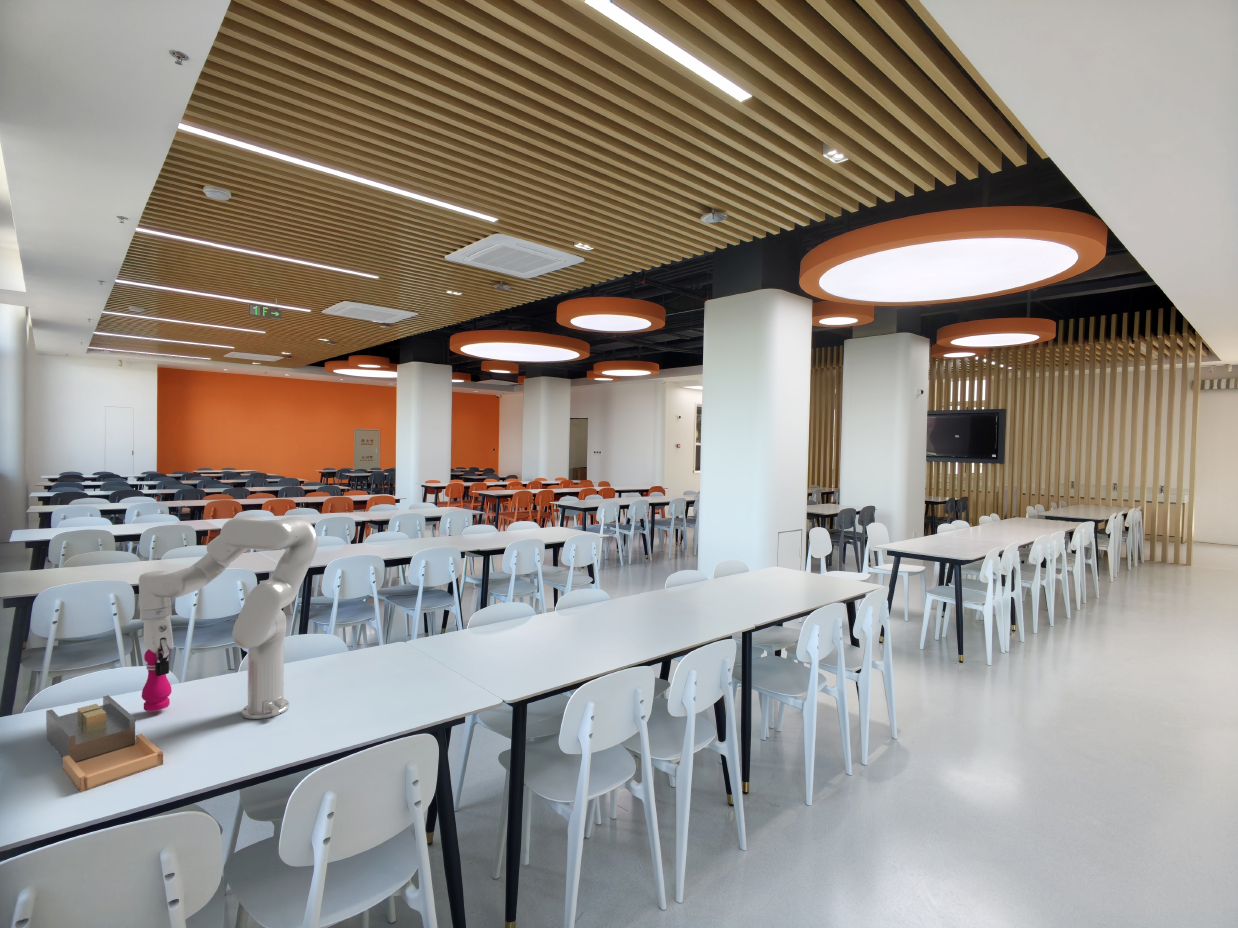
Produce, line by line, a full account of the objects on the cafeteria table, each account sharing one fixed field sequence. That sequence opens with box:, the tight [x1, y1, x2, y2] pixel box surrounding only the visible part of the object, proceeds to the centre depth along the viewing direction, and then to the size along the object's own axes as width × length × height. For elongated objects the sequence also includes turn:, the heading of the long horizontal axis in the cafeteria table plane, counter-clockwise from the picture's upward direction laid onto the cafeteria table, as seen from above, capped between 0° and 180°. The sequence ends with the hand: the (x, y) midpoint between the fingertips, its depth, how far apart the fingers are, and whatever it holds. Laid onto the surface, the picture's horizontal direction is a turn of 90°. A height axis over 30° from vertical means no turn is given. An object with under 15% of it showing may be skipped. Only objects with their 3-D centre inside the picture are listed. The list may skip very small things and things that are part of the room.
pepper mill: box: [141, 649, 172, 712], centre depth 183 cm, size 7×7×20 cm
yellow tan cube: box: [76, 703, 101, 727], centre depth 166 cm, size 4×4×4 cm
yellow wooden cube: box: [83, 709, 106, 733], centre depth 163 cm, size 4×4×4 cm
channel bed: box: [45, 695, 136, 763], centre depth 165 cm, size 24×13×8 cm, turn 53°
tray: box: [62, 733, 164, 793], centre depth 153 cm, size 16×16×3 cm
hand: (158, 671), depth 183 cm, fingers closed on pepper mill, 5 cm apart
